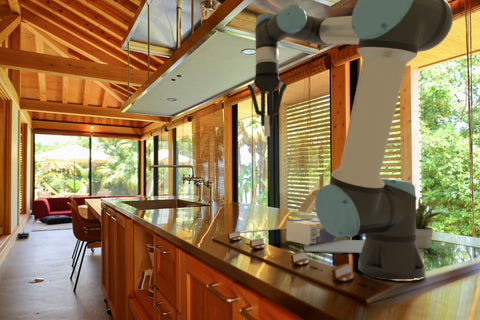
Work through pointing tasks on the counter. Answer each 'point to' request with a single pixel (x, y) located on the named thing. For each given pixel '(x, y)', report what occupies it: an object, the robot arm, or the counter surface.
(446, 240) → the counter surface
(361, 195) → the robot arm
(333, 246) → the light grey flat slab
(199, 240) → the counter surface
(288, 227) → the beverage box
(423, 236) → the house plant
